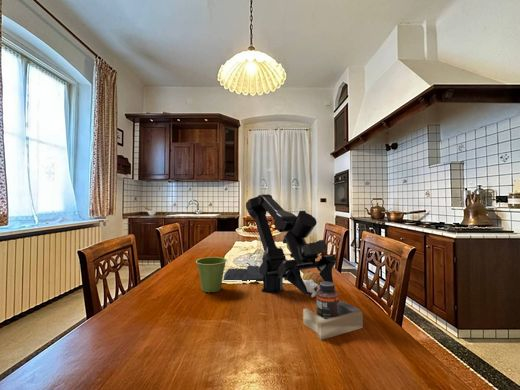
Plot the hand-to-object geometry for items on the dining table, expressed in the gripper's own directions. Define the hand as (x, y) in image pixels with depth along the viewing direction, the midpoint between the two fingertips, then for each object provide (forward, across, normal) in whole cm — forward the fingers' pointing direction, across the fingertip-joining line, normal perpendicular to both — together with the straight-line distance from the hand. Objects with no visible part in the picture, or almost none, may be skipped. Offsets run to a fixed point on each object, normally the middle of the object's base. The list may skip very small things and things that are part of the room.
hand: (320, 292), depth 77 cm
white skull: (-8, +11, +20) cm, 24 cm away
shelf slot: (+8, 0, +3) cm, 9 cm away
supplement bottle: (+8, 0, +3) cm, 9 cm away
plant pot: (-22, -20, +34) cm, 45 cm away
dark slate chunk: (-28, 0, +41) cm, 50 cm away
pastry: (-15, +21, +28) cm, 38 cm away
